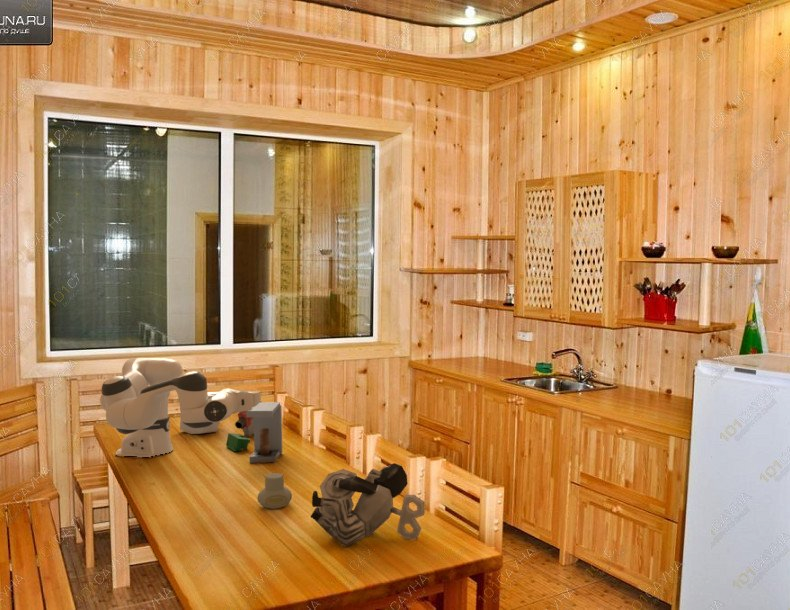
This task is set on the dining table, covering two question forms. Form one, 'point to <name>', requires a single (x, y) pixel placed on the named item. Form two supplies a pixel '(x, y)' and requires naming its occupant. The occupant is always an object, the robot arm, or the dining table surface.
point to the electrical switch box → (199, 430)
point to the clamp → (237, 442)
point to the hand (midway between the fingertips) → (236, 393)
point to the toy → (364, 504)
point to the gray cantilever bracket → (267, 424)
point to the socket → (264, 456)
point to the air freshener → (274, 492)
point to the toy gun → (245, 423)
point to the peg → (264, 441)
